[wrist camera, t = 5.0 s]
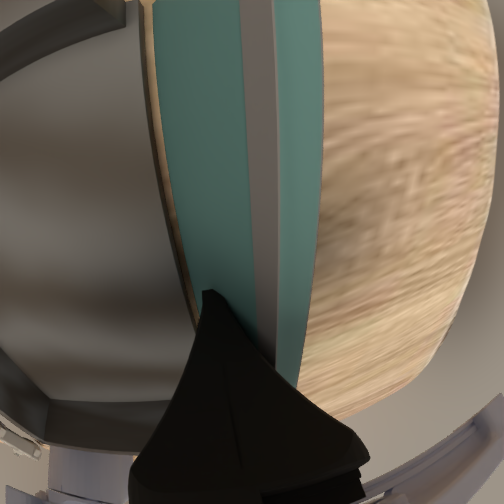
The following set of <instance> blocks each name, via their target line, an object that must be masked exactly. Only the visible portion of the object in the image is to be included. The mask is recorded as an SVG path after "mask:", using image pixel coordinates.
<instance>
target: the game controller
mask: <svg viewBox="0 0 504 504" xmlns="http://www.w3.org/2000/svg"><path fill="white" fill-rule="evenodd" d="M0 440H1V441H2V442H4V443H5V444H7V445H9V446H10V447H12V449H13V451H14V452H16V453H15V455H16V456H18V457H19V455H23V454H24V455H26V456H28V457H30V458H32V459H34V460H39V459H40V457H41V449H40V448H39V447H38V445H36V444H35V443H34V442H33V441H31V440H29V439H27V438H24V437H21V436H19V435H18V434H16V433H14V432H13V431H11V430H10V429H8V428H7V427H5V425H4V424H3V423H2V422H1V421H0Z"/></svg>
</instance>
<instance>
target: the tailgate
mask: <svg viewBox="0 0 504 504" xmlns="http://www.w3.org/2000/svg"><path fill="white" fill-rule="evenodd" d="M152 8H153V34H154V51H155V65H156V76H157V87H158V97H159V106H160V114H161V122H162V130H163V137H164V144H165V151H166V158H167V164H168V170H169V176H170V182H171V188H172V194H173V199H174V205H175V210H176V215H177V220H178V225H179V230H180V235H181V240H182V245H183V249H184V254H185V258H186V263H187V267H188V271H189V276H190V280H191V284H192V288H193V292H194V296H195V300H196V304H197V308H198V312H199V316H200V314H201V309H202V290H209V289H214V290H215V291H216V292H218V293H219V294H221V295H222V296H223V297H225V300H226V302H227V304H228V306H229V308H230V310H231V312H232V314H233V315H234V317H235V319H236V320H237V322H238V323H239V325H240V326H241V328H242V329H243V331H244V332H245V334H246V335H247V337H248V338H249V339H250V341H251V342H252V343H253V345H254V346H255V347H256V348H257V350H258V351H259V352H260V353H261V354H262V356H263V357H264V358H265V359H266V360H267V361H268V362H269V363H270V365H271V366H272V367H273V368H274V369H275V370H276V371H277V372H278V373H279V374H280V375H281V376H282V377H283V378H284V379H285V380H286V381H287V382H288V383H290V384H291V385H292V386H293V387H294V388H295V389H296V387H297V382H298V376H299V371H300V365H301V359H302V353H303V347H304V341H305V335H306V328H307V321H308V314H309V307H310V299H311V291H312V283H313V275H314V266H315V257H316V247H317V236H318V225H319V212H320V198H321V182H322V162H323V133H324V65H323V39H322V21H321V8H320V0H156V1H155V2H154V3H153V4H152Z"/></svg>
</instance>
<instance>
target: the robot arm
mask: <svg viewBox="0 0 504 504" xmlns="http://www.w3.org/2000/svg"><path fill="white" fill-rule="evenodd" d="M369 460H370V456H369V452H368V450H367V448H366V447H365V445H364V444H363V442H362V441H361V439H360V438H359V437H358V436H357V434H356V433H355V432H354V431H353V430H352V429H351V428H349V427H348V426H346V425H344V424H343V423H341V422H339V421H338V420H336V419H335V418H333V417H332V416H330V415H329V414H327V413H326V412H324V411H323V410H322V409H320V408H319V407H318V406H316V405H315V404H313V403H312V402H311V401H310V400H308V399H307V398H306V397H305V396H304V395H302V394H301V393H300V392H299V391H298V390H297V389H295V388H294V387H293V386H292V385H291V384H290V383H288V382H287V381H286V380H285V379H284V378H283V377H282V376H281V375H280V374H279V373H278V372H277V371H276V370H275V369H274V368H273V367H272V366H271V365H270V363H269V362H268V361H267V360H266V359H265V358H264V357H263V356H262V354H261V353H260V352H259V351H258V350H257V348H256V347H255V346H254V345H253V343H252V342H251V341H250V339H249V338H248V337H247V335H246V334H245V332H244V331H243V329H242V328H241V326H240V325H239V323H238V322H237V320H236V319H235V317H234V315H233V314H232V312H231V310H230V308H229V306H228V304H227V302H226V300H225V297H223V296H222V295H221V294H219V293H218V292H216V291H215V290H214V289H209V290H202V309H201V314H200V319H199V323H198V327H197V331H196V335H195V339H194V342H193V345H192V348H191V351H190V354H189V357H188V361H187V363H186V366H185V369H184V371H183V374H182V376H181V379H180V381H179V384H178V386H177V388H176V390H175V392H174V395H173V397H172V399H171V401H170V403H169V405H168V407H167V409H166V411H165V413H164V415H163V416H162V418H161V420H160V422H159V423H158V425H157V427H156V429H155V430H154V432H153V434H152V436H151V437H150V439H149V440H148V442H147V444H146V445H145V446H144V448H143V449H142V451H141V452H140V454H139V455H138V457H137V458H136V460H135V461H134V462H133V455H117V454H104V453H95V452H87V451H80V450H73V449H67V448H62V447H56V446H51V445H50V454H49V472H48V488H49V489H51V490H49V489H47V490H46V493H45V492H44V491H41V490H40V491H39V492H38V493H36V494H35V496H33V495H30V494H27V493H25V492H22V491H20V490H18V489H15V488H13V487H11V486H8V485H6V504H123V503H125V502H127V501H128V500H129V504H359V503H361V502H363V501H366V500H368V499H370V498H372V497H374V496H377V495H378V494H381V493H383V492H385V493H384V496H383V497H380V498H377V499H374V500H371V501H369V502H367V503H364V504H467V503H468V502H469V501H470V500H471V499H472V497H473V496H474V495H475V494H476V493H477V492H478V491H479V489H480V488H481V487H482V486H483V485H484V484H485V482H486V481H487V480H488V479H489V477H490V476H491V475H492V474H493V472H494V471H495V470H496V469H497V467H498V466H499V465H500V463H501V462H502V461H503V460H504V397H503V395H502V393H499V394H498V395H497V396H496V397H495V398H494V399H493V400H491V401H490V402H489V403H488V404H487V405H486V406H485V407H484V408H482V409H481V410H480V411H479V412H478V413H476V414H475V415H474V416H472V417H471V418H470V419H469V420H467V421H466V422H465V423H464V424H462V425H461V426H460V427H458V428H457V429H456V430H454V431H453V433H451V434H450V435H449V436H447V437H446V438H444V439H443V440H441V441H440V442H439V443H437V444H436V445H434V446H433V447H431V448H430V449H428V450H426V451H425V452H423V453H421V454H420V455H418V456H417V457H415V458H413V459H412V460H410V461H408V462H406V463H404V464H403V465H401V466H399V467H397V468H395V469H393V470H391V471H389V472H387V473H385V474H383V475H381V476H379V477H377V478H375V479H373V480H371V481H369V482H366V483H364V484H361V482H360V479H359V478H361V473H360V471H359V469H358V468H359V467H360V466H362V465H364V464H365V463H367V462H368V461H369ZM52 490H54V491H52ZM55 491H57V492H55ZM59 492H60V493H59ZM62 493H63V494H62Z"/></svg>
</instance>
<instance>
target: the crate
mask: <svg viewBox="0 0 504 504" xmlns="http://www.w3.org/2000/svg"><path fill="white" fill-rule="evenodd" d="M196 331H197V327H196V324H195V320H194V317H193V313H192V310H191V306H190V303H189V299H188V295H187V291H186V288H185V284H184V280H183V276H182V272H181V268H180V264H179V260H178V256H177V252H176V247H175V243H174V239H173V234H172V230H171V225H170V220H169V216H168V211H167V206H166V201H165V196H164V190H163V185H162V180H161V174H160V168H159V162H158V156H157V150H156V143H155V137H154V130H153V122H152V115H151V107H150V98H149V89H148V79H147V67H146V55H145V38H144V13H143V6H142V4H141V3H140V1H139V0H132V1H128V2H125V1H124V0H0V414H1V415H2V416H4V417H5V418H6V419H7V420H9V421H10V422H11V423H13V424H14V425H15V426H17V427H18V428H20V429H21V430H22V431H24V432H26V433H27V434H28V435H30V436H31V437H33V438H34V439H36V440H38V441H39V442H41V443H42V444H47V445H51V446H56V447H62V448H67V449H73V450H80V451H87V452H95V453H104V454H117V455H136V456H138V455H139V454H140V452H141V451H142V449H143V448H144V446H145V445H146V444H147V442H148V440H149V439H150V437H151V436H152V434H153V432H154V430H155V429H156V427H157V425H158V423H159V422H160V420H161V418H162V416H163V415H164V413H165V411H166V409H167V407H168V405H169V403H170V401H171V399H172V397H173V395H174V392H175V390H176V388H177V386H178V384H179V381H180V379H181V376H182V374H183V371H184V369H185V366H186V363H187V361H188V357H189V354H190V351H191V348H192V345H193V342H194V339H195V335H196Z"/></svg>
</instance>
